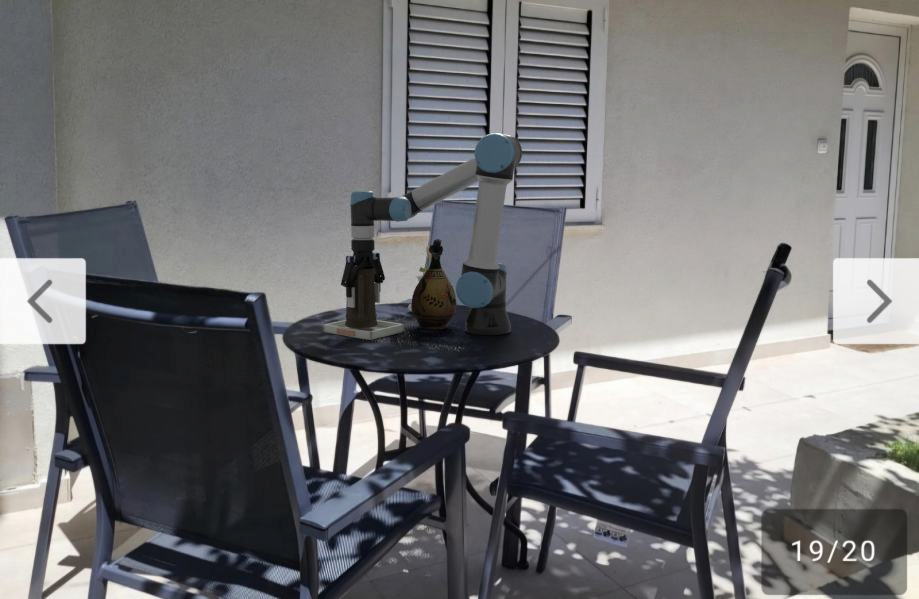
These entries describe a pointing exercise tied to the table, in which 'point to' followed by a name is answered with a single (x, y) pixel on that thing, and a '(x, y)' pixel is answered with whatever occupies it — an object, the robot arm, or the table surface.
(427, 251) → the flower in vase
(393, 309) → the table surface
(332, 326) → the tray
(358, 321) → the beer stein
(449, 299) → the ceramic jug
